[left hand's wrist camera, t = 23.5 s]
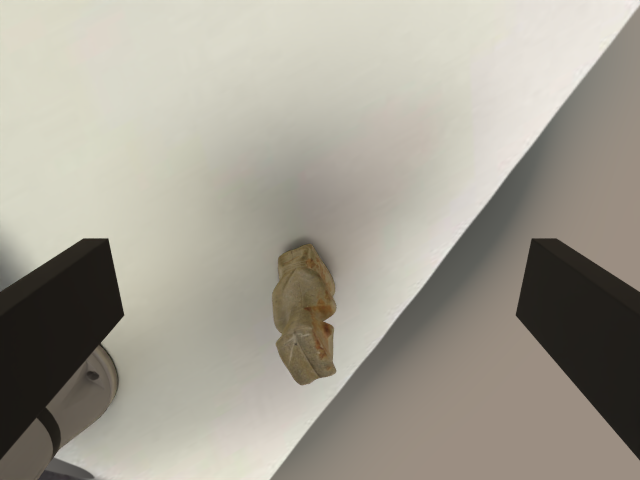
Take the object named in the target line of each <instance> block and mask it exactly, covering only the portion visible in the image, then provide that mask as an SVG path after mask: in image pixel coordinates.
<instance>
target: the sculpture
mask: <svg viewBox="0 0 640 480" xmlns="http://www.w3.org/2000/svg"><path fill="white" fill-rule="evenodd" d="M278 272H279V280H280V281H279V283H278V284H277V286H276V287H275V289H274V291H273V294H272V302H273V317H274V323H275V326H276V328H277V329H278V331H279V332H280V333H282V336H281V337H280V338H279V339H278V341H277V342H276V346H277V349H278V352H279V355H280V357H281V359H282V361H283V363H284V364H285V366H286V367H287V368H288V370H289V372H290V373H291V375H292V377H293V378H294V380H295V381H296V382H297V383H299V384H300V385H306V384H310V383H311V382H313V381H314V380H316V379H318V378H322V377H328V376H331V375H333V374H335V373H336V369H335V366H334V364H333V333H334V327H333V326H332V325H330V324H328V323H325V322H323V321H324V320H326V319H328V318H329V317H331V316H332V315H333V314H334V313H335V311H336V308H337V307H336V303H335V301H334V299H333V295H334V293H335V284H334V281H333V279H332V276H331V274H330V273H329V271H328V269H327V268H326V266H325V265H324V263H323V262H322V260H321V259H320V257H319V256H318V254H317V252H316V251H315V248H314V247H313V246H312V245H311V244H306V245H303V246H301V247H300V248H297V249H294V250H290V251H288V252H286V253H283V254H282V255H281V256H280V257H279V259H278Z"/></svg>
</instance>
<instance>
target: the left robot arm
mask: <svg viewBox="0 0 640 480" xmlns="http://www.w3.org/2000/svg"><path fill="white" fill-rule="evenodd" d="M123 316H124V312H123V307H122V302H121V297H120V292H119V288H118V283H117V278H116V273H115V268H114V264H113V259H112V254H111V249H110V245H109V240H108V239H82V240H80V241H79V242H77V243H76V244H74V245H73V246H71V247H70V248H68V249H66V250H65V251H63V252H62V253H60V254H59V255H57V256H56V257H54V258H52V259H51V260H49V261H48V262H46V263H45V264H43V265H42V266H40V267H38V268H37V269H35V270H34V271H32V272H31V273H29V274H28V275H26V276H24V277H23V278H21V279H20V280H18V281H17V282H15V283H14V284H12V285H10V286H9V287H7V288H6V289H4V290H3V291H1V292H0V480H38V478H39V477H40V475H41V474H42V473H43V471H44V470H45V468H46V467H47V465H48V464H49V463H50V461H51V460H52V458H53V457H54V456H55V454H56V453H57V452H58V450H59V449H60V448H61V447H63V446H64V445H65V444H67V443H68V442H69V441H71V440H72V439H73V438H74V437H76V436H77V435H78V434H80V433H81V432H82V431H83V430H85V429H86V428H87V427H89V426H90V425H91V424H93V423H94V422H95V421H96V420H97V419H98V418H100V417H101V416H102V415H103V413H104V412H105V411H106V409H107V408H108V406H109V405H110V403H111V402H112V400H113V398H114V396H115V394H116V390H117V373H116V370H115V367H114V364H113V362H112V360H111V359H110V357H109V355H108V354H107V353H106V351H105V350H104V349H103V348H102V347H101V346H100V345H99V344H100V343H101V342H102V341H103V340H104V338H105V337H106V336H107V335H108V334H109V333H110V331H111V330H112V329H113V328H114V327H115V326H116V324H117V323H118V322H119V321H120V320H121V319H122V317H123ZM516 316H517V317H518V318H519V320H520V321H521V322H522V323H523V324H524V326H525V327H526V328H527V329H528V330H529V331H530V332H531V334H532V335H533V336H534V337H535V338H536V340H537V341H538V342H539V343H540V344H541V345H542V347H543V348H544V349H545V350H546V351H547V352H548V354H549V355H550V356H551V357H552V358H553V359H554V361H555V362H556V363H557V364H558V365H559V366H560V368H561V369H562V370H563V371H564V372H565V373H566V375H567V376H568V377H569V378H570V379H571V380H572V382H573V383H574V384H575V385H576V386H577V387H578V389H579V390H580V391H581V392H582V393H583V394H584V396H585V397H586V398H587V399H588V400H589V401H590V403H591V404H592V405H593V406H594V407H595V408H596V410H597V411H598V412H599V413H600V414H601V416H602V417H603V418H604V419H605V420H606V421H607V423H608V424H609V425H610V426H611V427H612V428H613V430H614V431H615V432H616V433H617V434H618V435H619V437H620V438H621V439H622V440H623V441H624V442H625V444H626V445H627V446H628V447H629V448H630V449H631V451H632V452H633V453H634V454H635V455H636V456H637V458H638V459H639V460H640V292H639V291H637V290H636V289H634V288H633V287H631V286H629V285H628V284H626V283H625V282H623V281H622V280H620V279H619V278H617V277H615V276H614V275H612V274H611V273H609V272H608V271H606V270H605V269H603V268H601V267H600V266H598V265H597V264H595V263H594V262H592V261H591V260H589V259H588V258H586V257H584V256H583V255H581V254H580V253H578V252H577V251H575V250H574V249H572V248H570V247H569V246H567V245H566V244H564V243H563V242H561V241H559V240H558V239H532V240H531V245H530V249H529V254H528V259H527V264H526V268H525V274H524V278H523V283H522V288H521V292H520V297H519V302H518V307H517V312H516Z"/></svg>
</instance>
